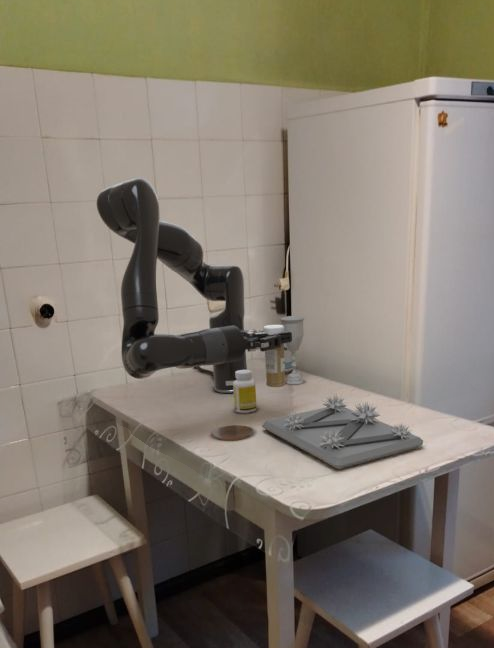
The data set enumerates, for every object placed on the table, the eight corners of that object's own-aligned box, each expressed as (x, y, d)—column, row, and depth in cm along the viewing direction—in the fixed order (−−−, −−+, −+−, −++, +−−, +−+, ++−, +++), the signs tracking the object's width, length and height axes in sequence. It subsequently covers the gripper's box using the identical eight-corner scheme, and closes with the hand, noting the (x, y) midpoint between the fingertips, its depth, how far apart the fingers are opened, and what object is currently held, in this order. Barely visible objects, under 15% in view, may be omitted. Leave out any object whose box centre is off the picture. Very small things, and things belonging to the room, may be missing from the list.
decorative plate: (260, 431, 143) (258, 400, 140) (339, 413, 152) (339, 384, 150) (336, 473, 118) (336, 436, 115) (426, 449, 127) (427, 414, 125)
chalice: (307, 384, 178) (305, 319, 172) (282, 385, 178) (279, 320, 172) (306, 378, 185) (304, 315, 179) (282, 379, 185) (279, 316, 179)
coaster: (207, 431, 144) (207, 429, 144) (244, 424, 147) (244, 422, 147) (220, 443, 136) (220, 441, 136) (259, 435, 140) (259, 433, 140)
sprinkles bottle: (289, 385, 145) (288, 325, 140) (273, 388, 142) (270, 328, 138) (278, 381, 148) (276, 323, 144) (261, 385, 146) (259, 325, 141)
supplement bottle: (261, 409, 158) (259, 370, 155) (245, 414, 155) (243, 375, 151) (245, 405, 162) (243, 367, 158) (230, 411, 158) (227, 372, 155)
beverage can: (268, 374, 191) (266, 334, 187) (272, 369, 197) (270, 330, 193) (291, 374, 190) (290, 334, 186) (294, 369, 196) (293, 329, 192)
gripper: (233, 332, 127) (302, 321, 136) (200, 324, 139) (265, 315, 147) (235, 369, 130) (303, 356, 139) (202, 358, 141) (267, 347, 150)
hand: (283, 335), depth 143 cm, fingers closed on sprinkles bottle, 4 cm apart
